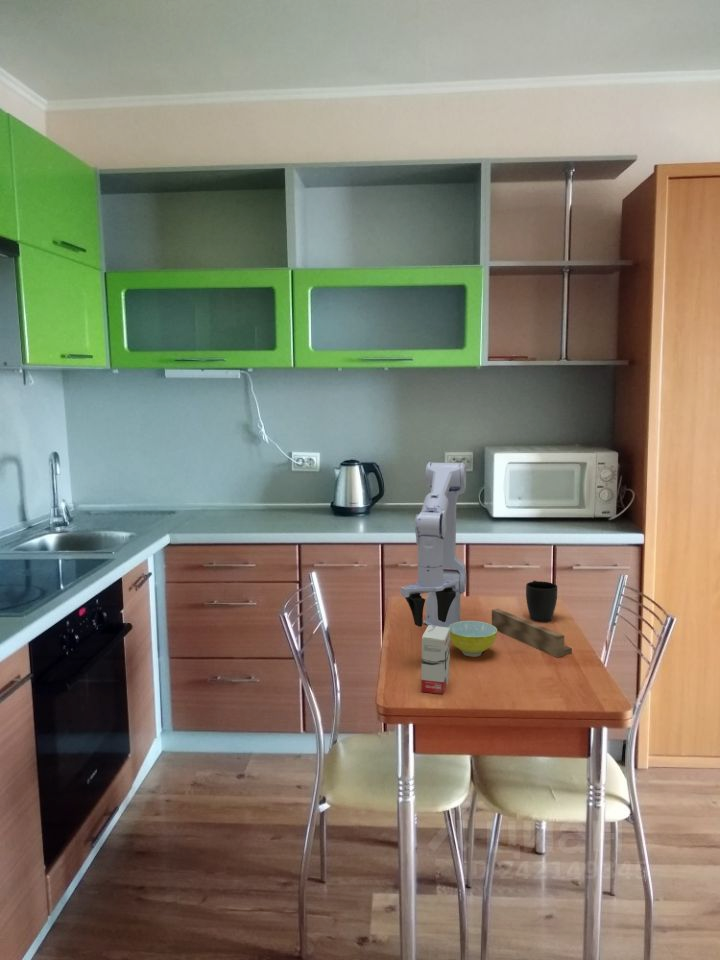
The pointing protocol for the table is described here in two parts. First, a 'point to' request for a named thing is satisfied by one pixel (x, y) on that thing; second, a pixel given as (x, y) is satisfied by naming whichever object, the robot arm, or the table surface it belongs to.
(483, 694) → the table surface
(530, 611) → the mug
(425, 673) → the ink box
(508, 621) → the walnut wall
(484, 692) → the table surface
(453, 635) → the bowl
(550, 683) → the table surface
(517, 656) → the table surface
